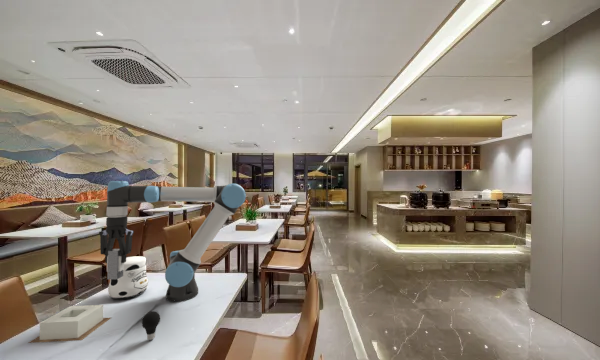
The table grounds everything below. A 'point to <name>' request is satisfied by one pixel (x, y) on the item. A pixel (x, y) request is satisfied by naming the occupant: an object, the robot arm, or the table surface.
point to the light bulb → (151, 323)
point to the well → (71, 322)
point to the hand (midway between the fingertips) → (115, 270)
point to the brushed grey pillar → (114, 264)
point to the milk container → (130, 279)
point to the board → (73, 338)
